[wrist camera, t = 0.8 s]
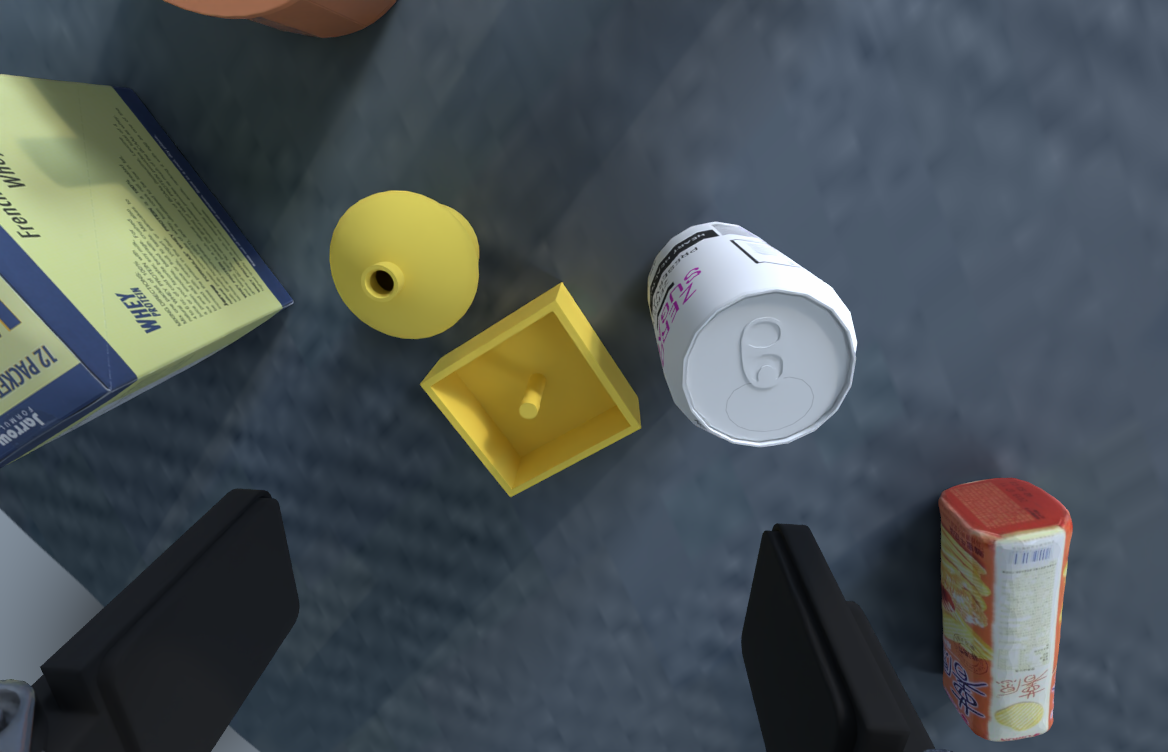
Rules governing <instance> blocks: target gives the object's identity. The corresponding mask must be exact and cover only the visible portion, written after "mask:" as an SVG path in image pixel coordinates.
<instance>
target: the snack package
mask: <svg viewBox="0 0 1168 752" xmlns="http://www.w3.org/2000/svg"><path fill="white" fill-rule="evenodd" d="M938 505H939V509H940V514H941V592H942V611H943V660H944V671H943V685H944V688H945V691H946V693H947V694H948V696H949V698H950V699H951V701H952V703H953V704H954V705H955V707H956V709H957V710H958V712H959V713H960V715H961V717H962V718H963V720H964V721H965V722H966V724H967V725H968V726H969V727H970V728H971V729H972V731H973V732H974V733H975V734H976V735H978V736H980V737H982V738H984V739H987V740H992V741H1010V740H1016V739H1022V738H1027V737H1033V736H1036V735H1040V734H1043V733H1045V732H1047V731H1048V730H1049V729H1050V727H1051V725H1052V724H1053V707H1054V687H1055V675H1056V667H1057V658H1058V652H1059V642H1060V628H1061V617H1062V607H1063V595H1064V588H1065V578H1066V572H1067V561H1068V554H1069V545H1070V540H1071V536H1072V531H1073V526H1072V520H1071V517H1070V514H1069V512H1068V510H1067V509H1066V508H1065V507H1064V506H1063V505H1062V504H1061V503H1060V502H1059V501H1058V500H1056V499H1055V498H1054V497H1052V496H1051V495H1049V494H1048V493H1047V492H1045V491H1044V490H1042V489H1040V488H1038V487H1036V486H1034V485H1033V484H1031V483H1029V482H1026V481H1022V480H1019V479H1016V478H993V479H986V480H980V481H975V482H969V483H965V484H960V485H957V486H954V487H951V488H949V489H947V490H945V491H943V492H942V493H941V496H940V498H939V502H938Z"/></svg>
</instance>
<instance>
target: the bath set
mask: <svg viewBox="0 0 1168 752" xmlns="http://www.w3.org/2000/svg"><path fill="white" fill-rule="evenodd" d="M329 259H330V266H331V273H332V277H333V280H334V283H335V286H336V289H337V291H338V293H339V294H340V296H341V298H342V300H343V301H344V303H345V304H346V305H347V306H348V308H349V309H350V310H351V311H352V312H353V313H354V314H355V315H356V316H357V317H358V318H359V319H360V320H361V321H363V322H364V323H366V324H367V325H369V326H370V327H372V328H373V329H375V330H378V331H380V332H382V333H385V334H387V335H390V336H394V337H399V338H404V339H420V338H427V337H431V336H434V335H437V334H440V333H442V332H444V331H445V330H447V329H448V328H450V327H452V326H453V325H454V324H455V323H456V322H457V321H458V320H459V319H460V318H461V317H462V316H463V315H464V314H465V313H466V312H467V310H468V308H469V307H470V305H471V304H472V302H473V299H474V297H475V294H476V291H477V286H478V280H479V268H478V261H479V244H478V240H477V237H476V234H475V232H474V230H473V228H472V227H471V225H470V224H469V222H468V221H467V220H466V219H465V218H464V217H463V216H462V215H461V214H460V213H458V212H457V211H456V210H454V209H452V208H450V207H448V206H446V205H443V204H439V203H438V202H436V201H435V200H432V199H430V198H428V197H426V196H424V195H421V194H417V193H413V192H409V191H394V190H392V191H386V192H380V193H376V194H373V195H371V196H369V197H366V198H364V199H362V200H360V201H358V202H357V203H356V204H354V205H353V206H351V207H350V208H349V209H348V210H347V211H346V213H345V214H344V215H343V216H342V217H341V218H340V220H339V222H338V224H337V226H336V228H335V230H334V232H333V236H332V240H331V244H330V258H329ZM420 385H421V387H422V388H423V389H424V390H425V392H426V393H427V394H428V395H429V397H430V398H431V399H432V400H433V402H434V403H435V404H436V405H437V407H438V408H439V409H440V410H441V412H442V413H443V414H444V415H445V417H446V418H447V419H448V420H449V422H450V423H451V424H452V425H453V427H454V428H455V429H456V430H457V432H458V433H459V434H460V435H461V437H462V438H463V439H464V440H465V441H466V443H467V444H468V445H469V446H470V448H471V449H472V450H473V451H474V453H475V454H476V455H477V456H478V458H479V459H480V460H481V461H482V463H483V464H484V465H485V466H486V468H487V469H488V470H489V471H490V473H491V474H492V475H493V476H494V478H495V479H496V480H497V481H498V483H499V484H500V485H501V486H502V488H503V489H504V490H505V491H506V493H507V494H508V495H509V496H510V497H512V496H514V495H516V494H518V493H520V492H521V491H523V490H525V489H527V488H529V487H531V486H533V485H535V484H537V483H538V482H540V481H542V480H544V479H546V478H548V477H550V476H552V475H554V474H556V473H557V472H559V471H561V470H563V469H565V468H567V467H569V466H571V465H573V464H574V463H576V462H578V461H580V460H582V459H584V458H586V457H588V456H590V455H591V454H593V453H595V452H597V451H599V450H601V449H603V448H605V447H607V446H608V445H610V444H612V443H614V442H616V441H618V440H620V439H622V438H624V437H625V436H627V435H629V434H631V433H633V432H635V431H637V430H639V429H641V421H640V411H639V400H638V397H637V395H636V394H635V392H634V391H633V389H632V388H631V386H630V385H629V383H628V381H627V380H626V378H625V377H624V375H623V374H622V372H621V371H620V369H619V368H618V366H617V365H616V363H615V362H614V360H613V359H612V357H611V356H610V354H609V353H608V351H607V350H606V348H605V347H604V345H603V343H602V342H601V340H600V339H599V337H598V336H597V334H596V333H595V331H594V330H593V328H592V327H591V325H590V324H589V322H588V321H587V319H586V318H585V316H584V315H583V313H582V312H581V310H580V309H579V307H578V305H577V304H576V302H575V301H574V299H573V298H572V296H571V295H570V293H569V292H568V290H567V289H566V287H565V286H564V284H563V283H562V282H561V283H559V284H558V285H556V286H555V287H553V288H551V289H550V290H548V291H547V292H545V293H543V294H542V295H540V296H539V297H537V298H535V299H534V300H532V301H531V302H529V303H528V304H526V305H524V306H523V307H521V308H520V309H518V310H516V311H515V312H513V313H512V314H510V315H508V316H507V317H505V318H504V319H502V320H500V321H499V322H497V323H496V324H494V325H493V326H491V327H489V328H488V329H486V330H485V331H483V332H481V333H480V334H478V335H477V336H475V337H473V338H472V339H470V340H469V341H467V342H465V343H464V344H462V345H461V346H459V347H457V348H456V349H454V350H453V351H451V352H450V353H448V354H446V355H445V356H443V357H442V358H440V359H439V361H438V362H437V363H436V364H435V366H434V367H433V368H432V369H431V371H430V372H429V373H428V375H427V376H426V377H425V378H424V380H423V381H422V382H421V383H420Z"/></svg>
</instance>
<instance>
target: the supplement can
mask: <svg viewBox="0 0 1168 752" xmlns="http://www.w3.org/2000/svg"><path fill="white" fill-rule="evenodd" d="M648 304H649V309H650V313H651V318H652V322H653V327H654V331H655V336H656V340H657V345H658V349H659V354H660V358H661V363H662V367H663V372H664V376H665V379H666V381H667V384H668V387H669V390H670V392H671V395H672V398H673V400H674V403H675V404H676V405H677V406H678V407H679V408H680V410H681V411H682V412H683V413H684V414H685V415H686V416H687V417H688V418H689V420H690V421H691V422H692V423H693V424H694V425H696V426H698V427H700V428H702V429H704V430H706V431H708V432H710V433H712V434H714V435H715V436H717V437H719V438H723V439H725V440H727V441H729V442H731V443H734V444H741V445H747V446H754V447H766V446H772V445H779V444H785V443H790V442H792V441H794V440H796V439H798V438H800V437H802V436H805V435H807V434H809V433H811V432H813V431H815V430H816V429H817V428H818V427H820V426H821V425H822V424H823V423H824V422H825V421H826V420H827V419H829V418H830V417H831V416H832V415H833V414H834V413H835V412H836V411H837V410H838V408H839V407H840V405H841V403H842V401H843V400H844V398H845V396H846V394H847V393H848V391H849V389H850V387H851V385H852V380H853V374H854V368H855V362H856V355H855V352H856V347H857V340H856V336H855V331H854V327H853V322H852V318H851V314H850V311H849V310H848V309H847V307H846V306H845V305H844V303H843V302H842V301H841V299H840V298H839V297H838V295H837V294H836V292H835V291H834V290H833V288H832V287H831V286H829V285H828V284H826V283H825V282H823V281H822V280H820V279H819V278H817V277H816V276H815V275H813V274H812V273H810V272H809V271H807V270H806V269H804V268H803V267H801V266H800V265H798V264H797V263H795V262H794V261H792V260H791V259H790V258H788V257H787V256H785V255H784V254H782V253H781V252H779V251H778V250H776V249H775V248H773V247H772V246H770V245H769V244H768V243H766V242H765V241H763V240H762V239H760V238H759V237H757V236H755V235H754V234H752V233H750V232H749V231H747V230H745V229H744V228H742V227H740V226H739V225H733V224H727V223H720V222H711V223H706V224H701V225H696V226H692V227H690V228H688V229H687V230H685V231H683V232H682V233H680V234H678V235H676V236H675V237H673V238H671V239H670V241H669V242H668V243H667V244H666V245H665V247H664V248H663V249H662V250H661V251H660V252H659V254H658V255H657V256H656V258H655V260H654V263H653V266H652V268H651V271H650V273H649V276H648Z"/></svg>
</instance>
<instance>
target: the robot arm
mask: <svg viewBox="0 0 1168 752" xmlns="http://www.w3.org/2000/svg"><path fill="white" fill-rule="evenodd" d="M298 613H299V599H298V594H297V589H296V584H295V579H294V574H293V570H292V565H291V560H290V555H289V550H288V545H287V540H286V535H285V530H284V526H283V521H282V516H281V511H280V506H279V503H278V501H277V500H276V499H272V497H271V495H270V494H269V492H268V491H265V490H251V489H233V490H231V491H230V492H229V493H227V494H226V495H225V496H224V497H223V498H222V499H221V500H220V501H219V502H218V503H217V504H216V505H214V506H213V507H212V508H211V509H210V510H209V511H208V512H207V513H206V514H205V515H204V516H203V517H202V518H200V519H199V520H198V521H197V522H196V523H195V524H194V525H193V526H192V527H191V528H190V529H189V530H187V531H186V532H185V533H184V534H183V535H182V536H181V537H180V538H179V539H178V540H177V541H176V542H175V543H173V544H172V545H171V546H170V547H169V548H168V549H167V550H166V551H165V552H164V553H163V554H162V555H161V556H159V557H158V558H157V559H156V560H155V561H154V562H153V563H152V564H151V565H150V566H149V567H148V568H146V569H145V570H144V571H143V572H142V573H141V574H140V575H139V576H138V577H137V578H136V579H135V580H134V581H132V582H131V583H130V584H129V585H128V586H127V587H126V588H125V589H124V590H123V591H122V592H121V593H120V594H118V595H117V596H116V597H115V598H114V599H113V600H112V601H111V602H110V603H109V604H108V605H107V606H105V607H104V608H103V609H102V610H101V611H100V612H99V613H98V614H97V615H96V616H95V617H94V618H93V619H91V620H90V621H89V622H88V623H87V624H86V625H85V626H84V627H83V628H82V629H81V630H80V631H79V632H77V633H76V634H75V635H74V636H73V637H72V638H71V639H70V640H69V641H68V642H67V643H66V644H65V645H63V646H62V647H61V648H60V649H59V650H58V651H57V652H56V653H55V654H54V655H53V656H52V657H50V658H49V659H48V660H47V661H46V662H45V663H44V664H43V665H42V666H41V667H40V668H41V670H42V672H43V674H44V675H42V676H41V677H40V678H39V679H38V680H37V681H36V682H35V683H34V684H33V685H32V686H30V685H29V684H28V683H26V682H24V681H18V680H12V679H10V680H0V752H211V751H212V749H213V748H214V746H215V745H216V743H217V742H218V740H219V738H220V737H221V735H222V734H223V732H224V731H225V729H226V728H227V726H228V725H229V723H230V722H231V720H232V719H233V717H234V716H235V714H236V713H237V711H238V709H239V708H240V706H241V705H242V703H243V702H244V700H245V699H246V697H247V696H248V694H249V693H250V691H251V690H252V688H253V687H254V685H255V683H256V682H257V680H258V679H259V677H260V676H261V674H262V673H263V671H264V670H265V668H266V667H267V665H268V664H269V662H270V661H271V659H272V657H273V656H274V654H275V653H276V651H277V650H278V648H279V647H280V645H281V644H282V642H283V641H284V639H285V638H286V636H287V634H288V633H289V631H290V630H291V628H292V627H293V625H294V624H295V622H296V619H297V617H298ZM741 644H742V654H743V659H744V663H745V667H746V671H747V675H748V679H749V683H750V687H751V691H752V695H753V699H754V703H755V707H756V711H757V715H758V719H759V723H760V727H761V731H762V735H763V739H764V743H765V747H766V751H767V752H953V751H949V750H946V749H935V747H934V745H933V743H932V741H931V739H930V738H929V736H928V734H927V732H926V730H925V728H924V726H923V724H922V722H921V720H920V719H919V717H918V715H917V713H916V711H915V709H914V707H913V705H912V703H911V701H910V699H909V698H908V696H907V694H906V692H905V690H904V688H903V686H902V684H901V682H900V680H899V679H898V677H897V675H896V673H895V671H894V669H893V667H892V665H891V663H890V661H889V659H888V658H887V656H886V654H885V652H884V650H883V648H882V646H881V644H880V642H879V640H878V639H877V637H876V635H875V633H874V631H873V629H872V627H871V625H870V623H869V621H868V619H867V618H866V616H865V614H864V612H863V611H862V609H861V608H860V606H859V605H858V604H856V603H855V602H853V601H846V600H845V598H844V596H843V594H842V592H841V590H840V588H839V586H838V584H837V582H836V580H835V578H834V576H833V574H832V572H831V570H830V568H829V566H828V564H827V562H826V560H825V558H824V556H823V554H822V552H821V550H820V548H819V546H818V544H817V542H816V540H815V538H814V536H813V534H812V532H811V530H810V529H809V527H808V526H806V525H793V524H778V523H777V524H775V525H774V527H773V529H772V531H764V533H763V535H762V539H761V544H760V549H759V554H758V559H757V564H756V568H755V573H754V578H753V583H752V588H751V593H750V598H749V602H748V607H747V612H746V617H745V622H744V627H743V631H742V640H741Z"/></svg>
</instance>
